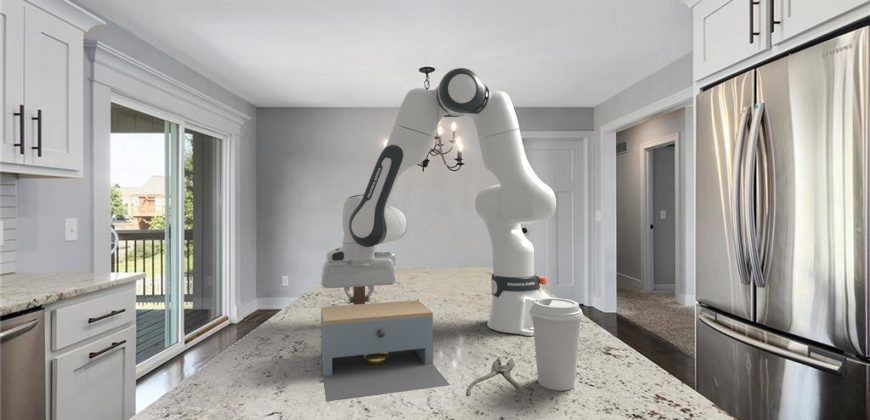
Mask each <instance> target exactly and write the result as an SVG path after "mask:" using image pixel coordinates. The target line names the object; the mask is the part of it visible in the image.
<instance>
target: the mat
mask: <svg viewBox="0 0 870 420" xmlns="http://www.w3.org/2000/svg"><path fill="white" fill-rule="evenodd" d="M323 381H324V390H325V391H324V392H325V401H326V402H333V401H341V400H348V399H355V398H364V397H371V396H378V395H379V396H380V395H386V394H392V393H393V394H394V393H401V392H408V391H410V392H411V391H415V390H422V389H423V390H424V389H431V388H439V387H446V386H447V387H448V386H450V385H451V383H449V380H447V378H445V376H444V375H443V374H442V373H441V372H440V371H439V369H438V368H437V367H436V366H435V364H434V363H433V364H425V363H424V362H423V361H422V359H421V358H420V357H419V355H418V354H417V353H416V351H415V350H414V349H412V350H403V351H393V352H388V362H387V363H385V364H383V365H368V364H365V362H364V355H354V356H345V357H335V358H332V375H330V376H324V375H323Z"/></svg>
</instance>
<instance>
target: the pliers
mask: <svg viewBox="0 0 870 420" xmlns="http://www.w3.org/2000/svg"><path fill="white" fill-rule="evenodd" d="M492 365H493V366H492V367H493V368H492V369H491V372H489V373H487V374H486V375H484V376H481V377H478V378H477V379H475V380H473V381H472V382H471V383H470V385H468V386H467V389H466V396H467V397H470V396H471V391H472V389H473V387H475V386H476V385H477V384H478V383H479V384H480V383H482V382H483V381H485V380H488V379H490V378H493V377H496V376H497V375H499V374H502V375H503V377H504V378H505V379H506V380H507V381H508V382H509V383H510V384H512V386H514V388H515V389H516V390H517V395H516V398H515V399H514V402H515V403H518V402H519V401H521V398H522V393H523V391H522V388H521V386H520V384H519V383H518V382H517V381H515V380H514V378H513V377H512V376H511V371H512V370H513V369H514V368H515V362H514V358H513V357H511V358H510V359H509V360H508V361H507V362H506V364H505V365H502V362H501V357H500V356H498V357H497V358H496V359H495V361H494V362H493V363H492Z"/></svg>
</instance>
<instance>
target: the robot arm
mask: <svg viewBox="0 0 870 420" xmlns="http://www.w3.org/2000/svg"><path fill="white" fill-rule="evenodd" d="M466 115H467V116H469V117H470V118H471V120H472V121H473V123H474V125H475V128H476V133H477V138H478V145H479V148H480V152H481V156H482V160H483V166H484V167H485V168H486V169H487V170H488V171H489V172H490V173H491V174H493V175H494V176H495V178H496V179H497V180H498V182H499V184H494V185H490V186H487V187H485V188H482V189H481V190H480V191H479V192H478V193H477V195H476V197H475V201H474V205H475V206H474V207H475V211H476V213H477V215H478V216H479V217H480V218H481V219H482V221H483V222H484V224H485V226H486V229H487V231H488V234H489V239H490V241H491V246H492V248H491V249H492V274H491V280H490V281H491V283H490V284H491V285H490V288H491V295H492V296H491V304H490V312H489V315H488V321H487V323H486V324H487V327H488V328H489V329H492V330H494V331H497V332H502V333H506V334H507V333H508V334H517V335H522V336H527V337H533V336H534V329H533V318H532V315H531V314H530V309H531V307H532V306H533V304H534V301H535V300H537V299H541V298H553V297H551V296H550V295H549V294H548V293H546V292H545V290H543V289H542V288H541V286H540V285H543V286H545V285H547V284H548V278H547V277H545V276H538V275H536V274H535V249H534V245H533V243H532V242H531V241H530V240H529V239H528V238H527V237H526V236H525V234H524V232H523V229H522V225H534V224H535V225H536V224H540V223H543V222H547V221H549V220H550V219H551V218H552V217H553V216H554V214H555V212H556V208H557V198H556V195H555V193H554V190H553V189H552V188H551V187H550V186H549V185H547V184H546V183H545V182H543V181H542V180H541V179H540V178H539V176H537V174H536V173H535V172H534V169H533V168H532V166H531V164H530V163H529V160H528V158H527V154H526V153H525V147H524V144H523V140H522V135H521V130H520V126H519V122H518V117H517V114H516V112H515V109H514V105H513V103H512V100H511V98H510V96H509V95H508V93H506V92H505V91H502V90H490V89H489V87H488V86H487V85H486V84H485V83H484V82H483V81H482V80H481V78H480V77H479V76H478V75H477V73H475V72H474V71H473V70H471V69H469V68H464V67H457V68H454V69H452V70H449V71H448V72H447V73H445V75H444V76H443V77H442V79H441V80H440V82H439V84H438V86H436V88H434V89H427V88H424V87H423V88H422V87H419V88H418V87H417V88H412V89H411V90H409V91H408V92H407V94H406V95H405V96H404V98H403V101H402V103H401V104H400V106H399V109H398V112H397V114H396V118H395V120H394V124H393V127H392V129H391V133H390V135H389V138H388V140H387V142H386V144H385V147H384V148H383V150H382V151H381V153H380V155H379V156H378V159H377V161H376V163H375V165H374V168H373V170H372V174H371V176H370V178H369V180H368V182H367V183H368V184H367V185H366V188H365V191H364V193H363V194H362V193H361V194H355V195H352V196H349V197H347V198H346V199H345V201H344V204H343V210H342V230H343V240H342V246H341V247H339V248H335V249H332V250H329V251H327V252H326V257H325V258H326V261H325V262H324V264H323V267H322V272H321V286H322V288H324V289H340V288H343V291H344V293H345V295H346V296H347V303H348V304H353V303H354V297H353V295H351V294H350V290H351V289H350V288H353V287H362V286H365V287H367V289H368V291H367V293H366V294H365V303H371V296H372V293H373V292H374V290H375V286H376V287H377V286H392V285H394V284H395V282H396V274H395V266H396V264H397V263H396V256H395V254H393V253H391V251H385V252H383V251H379V252H378V251H377V252H376V248H375V247H376V246H377V245H380V244H381V245H382V244H385V243H389V242H390V243H391V242H394V241H397V240H399V239H401V238H402V237H403V236H404V235H405V233H406V232H407V230H408V229H407V228H408V221H407V219H408V218H407V216H406V215H405V213H404V212H403V211H402V210H401V209H399V208H397V207H394V206H390V205H388V204H389V201H390V198H391V196H392V193H393V191H394V188H395V186H396V183H397V181H398V179H399V177H401V175H402V174H403V173H405V172H406V171H407V170H409V169H411V168H413V167H415V166H417V165H419V164H421V163H422V162H424V161H425V160H426V158H427V156H428V155H429V153H430V151H431V149H432V145H433V143H434V139H435V136H436V132H437V128H438V126H439V123H440V121H441V120H442V118H458V117H462V116H466Z"/></svg>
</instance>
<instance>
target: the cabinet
mask: <svg viewBox="0 0 870 420" xmlns="http://www.w3.org/2000/svg"><path fill="white" fill-rule="evenodd" d="M320 310H321V311H320V313H321V315H320V316H321V317H320V325H321V327H320V329H321V331H320V334H321V335H320V336H321V343H320V345H321V346H320V347H321V349H320V350H321V351H320V354H321V364H322V372H323V377H324V376H330V375H332V358H335V357H345V356H354V355H364V354H374V353H383V352H393V351H403V350H412V349H414V350H415V351H416V353H417V354H418V355H419V357H420V358H421V359H422V361H423V362H424V363H425V364H434V342H433V341H434V327H433V326H434V320H433V319H434V315H433V313H434V312H433V311H432V310H430V309H429V308H428V307H427V306H426V305H425V304H423V303H422V302H421V301H419V300H418V299H415V300H403V301H402V300H401V301H389V302H373V303H371V302H370V303H365V304H357V305H353V304H346V305H345V304H344V305H333V306H331V305H330V306H328V305H327V306H320Z"/></svg>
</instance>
